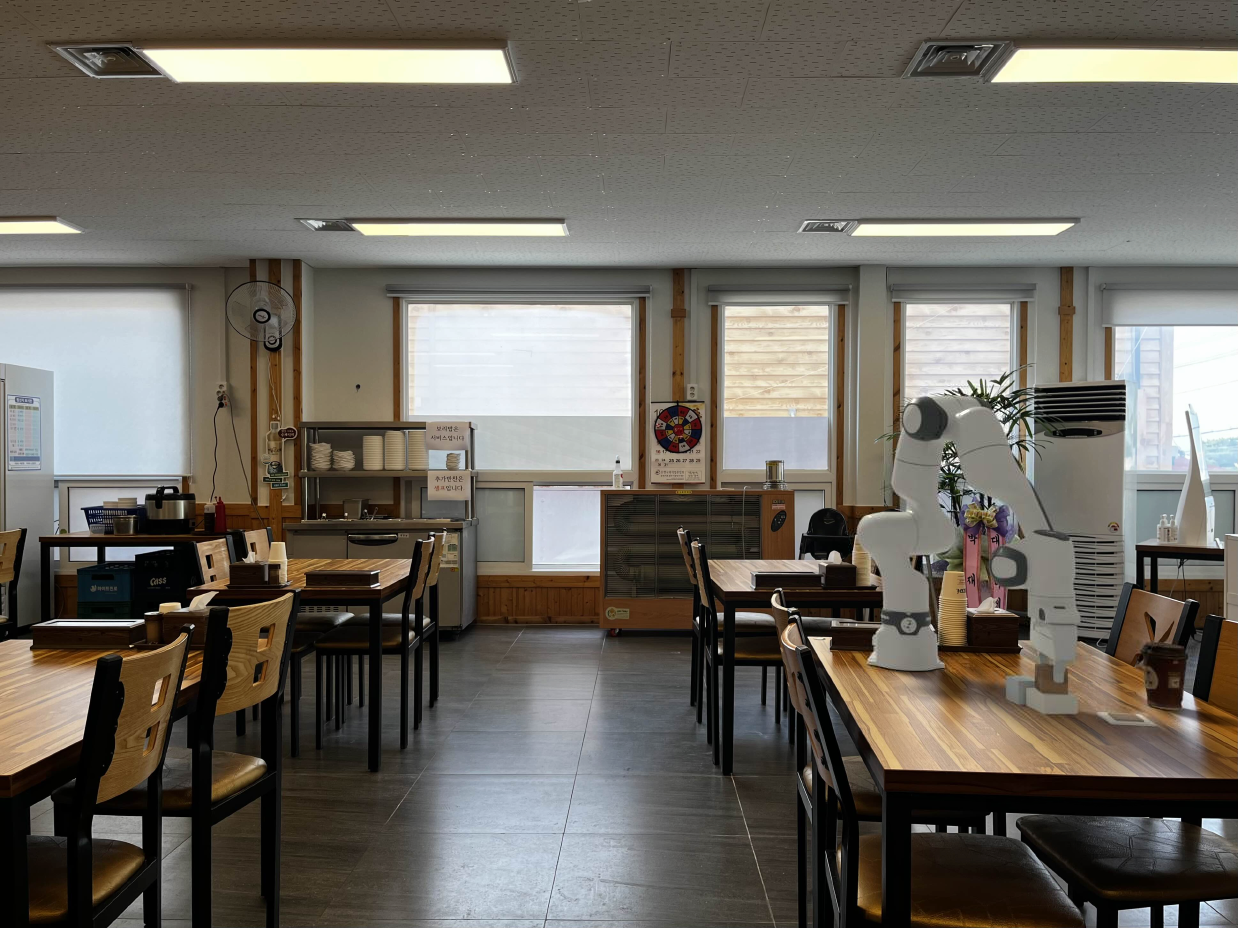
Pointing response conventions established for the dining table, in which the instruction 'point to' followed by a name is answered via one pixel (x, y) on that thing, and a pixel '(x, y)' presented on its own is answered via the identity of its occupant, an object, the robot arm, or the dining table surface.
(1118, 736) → the dining table surface
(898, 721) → the dining table surface
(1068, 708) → the plinth block
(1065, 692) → the walnut cube
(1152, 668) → the coffee cup
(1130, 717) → the tile
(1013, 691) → the grey cube
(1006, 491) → the robot arm
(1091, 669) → the dining table surface
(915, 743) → the dining table surface
